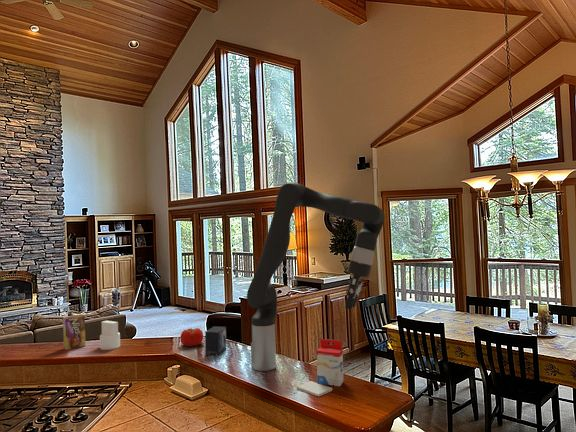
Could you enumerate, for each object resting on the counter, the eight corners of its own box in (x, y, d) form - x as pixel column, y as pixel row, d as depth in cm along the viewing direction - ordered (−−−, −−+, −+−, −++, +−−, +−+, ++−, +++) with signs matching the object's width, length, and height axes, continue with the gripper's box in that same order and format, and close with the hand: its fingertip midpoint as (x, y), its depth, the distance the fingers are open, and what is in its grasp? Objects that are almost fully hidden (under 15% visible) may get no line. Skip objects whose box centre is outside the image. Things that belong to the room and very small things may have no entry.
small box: (218, 356, 185) (218, 332, 185) (204, 355, 186) (204, 331, 186) (227, 349, 195) (226, 326, 195) (213, 348, 196) (213, 325, 197)
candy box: (83, 344, 210) (82, 313, 210) (85, 346, 207) (85, 314, 207) (63, 348, 204) (62, 316, 204) (65, 350, 201) (65, 317, 201)
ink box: (316, 383, 149) (315, 342, 150) (321, 379, 154) (319, 338, 154) (340, 386, 146) (339, 343, 146) (344, 381, 151) (342, 340, 151)
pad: (296, 388, 145) (296, 386, 145) (310, 383, 150) (310, 380, 150) (318, 396, 138) (318, 394, 138) (332, 390, 143) (332, 388, 143)
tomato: (204, 341, 209) (204, 326, 209) (201, 347, 198) (201, 331, 198) (182, 342, 209) (182, 327, 209) (178, 348, 198) (178, 332, 198)
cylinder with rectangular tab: (95, 348, 203) (95, 323, 203) (112, 343, 210) (112, 319, 211) (107, 350, 198) (107, 324, 198) (124, 345, 206) (123, 320, 206)
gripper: (353, 259, 153) (342, 302, 153) (347, 258, 140) (335, 306, 139) (373, 264, 151) (363, 308, 151) (370, 264, 138) (358, 313, 137)
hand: (350, 307), depth 145 cm, fingers open, 8 cm apart
